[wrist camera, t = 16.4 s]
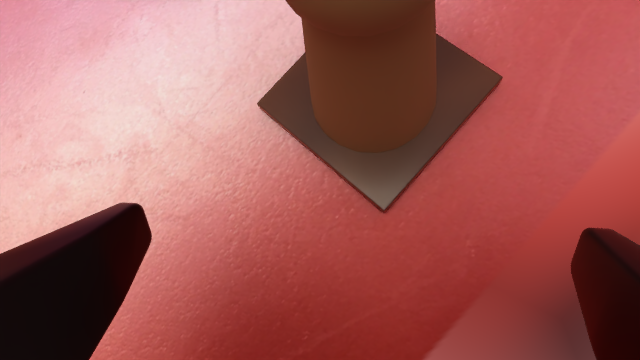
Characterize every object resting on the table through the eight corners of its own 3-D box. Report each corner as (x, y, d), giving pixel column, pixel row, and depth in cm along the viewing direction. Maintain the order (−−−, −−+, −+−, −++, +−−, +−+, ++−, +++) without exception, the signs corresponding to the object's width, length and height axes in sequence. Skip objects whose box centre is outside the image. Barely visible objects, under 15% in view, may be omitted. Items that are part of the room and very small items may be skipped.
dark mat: (499, 82, 19) (503, 76, 18) (384, 213, 18) (384, 211, 18) (366, -5, 21) (366, -13, 21) (259, 108, 21) (256, 103, 20)
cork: (459, 123, 18) (561, -96, 8) (336, 172, 19) (272, 28, 8) (405, 20, 20) (428, -274, 9) (294, 67, 20) (196, -166, 10)
